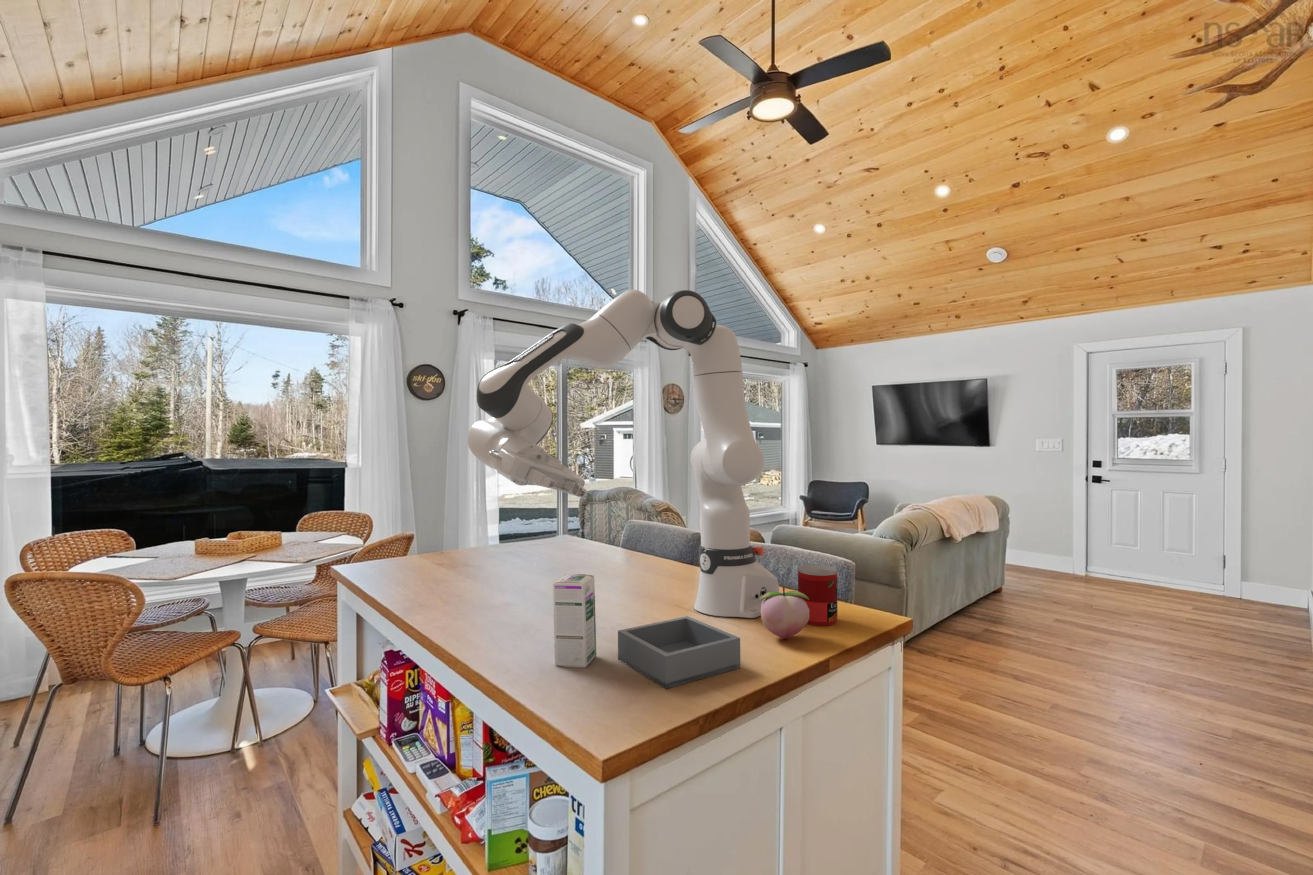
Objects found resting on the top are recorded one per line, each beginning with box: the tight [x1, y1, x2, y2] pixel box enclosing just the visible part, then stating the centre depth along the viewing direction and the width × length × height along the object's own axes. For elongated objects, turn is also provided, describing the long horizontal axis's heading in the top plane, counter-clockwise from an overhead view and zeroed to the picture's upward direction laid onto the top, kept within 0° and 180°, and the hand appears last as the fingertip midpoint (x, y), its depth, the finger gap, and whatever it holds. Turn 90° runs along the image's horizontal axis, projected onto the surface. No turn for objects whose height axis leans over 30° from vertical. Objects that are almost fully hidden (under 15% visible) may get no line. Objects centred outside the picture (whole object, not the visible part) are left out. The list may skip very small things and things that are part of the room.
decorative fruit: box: [759, 586, 809, 640], centre depth 114 cm, size 9×8×10 cm
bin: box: [617, 615, 741, 690], centre depth 102 cm, size 15×15×5 cm
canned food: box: [797, 564, 838, 627], centre depth 125 cm, size 8×8×11 cm
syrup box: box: [552, 573, 597, 669], centre depth 103 cm, size 6×6×14 cm
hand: (567, 489), depth 112 cm, fingers open, 8 cm apart
